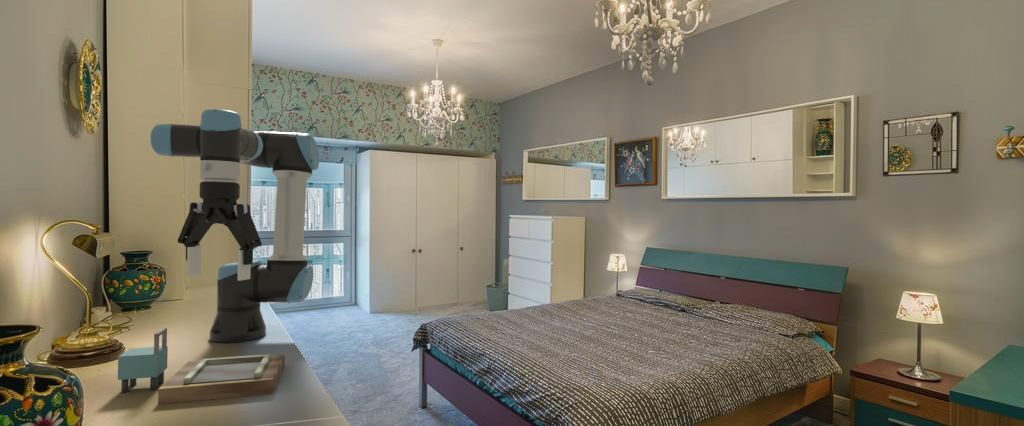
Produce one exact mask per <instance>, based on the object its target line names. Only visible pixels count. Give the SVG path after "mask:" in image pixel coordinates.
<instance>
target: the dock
mask: <svg viewBox="0 0 1024 426" xmlns="http://www.w3.org/2000/svg"><path fill="white" fill-rule="evenodd" d="M285 357H286V356H285V354H280V355H271V354H270V353H269V354H257V355H242V356H241V355H240V356H225V357H209V358H207V357H206V358H203V359H201V360H191V361H187V362H186V363H185V364H184V365H183V366H182V367H181V368H180V369H179V370H177V371H176V373H174V374H173V375H172V376H171V377H170V378H169V379H168V380H166V382H165V383H163V384H162V385H161V386H159V388H157V391H158V393H157V394H158V395H157V404H158V405H161V404H162V405H165V404H175V403H185V402H195V401H197V402H198V401H206V400H207V401H209V400H218V399H231V398H232V399H233V398H241V397H242V398H243V397H252V396H253V397H254V396H263V395H273V394H274V391H275V389H276V388H277V384H278V382H279V380H280V378H281V376H282V374H283V371H284V369H285V364H286V363H285Z"/></svg>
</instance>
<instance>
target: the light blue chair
mask: <svg viewBox="0 0 1024 426" xmlns="http://www.w3.org/2000/svg"><path fill="white" fill-rule="evenodd" d="M153 335H154V336H153V338H154V339H153V346H152V347H149V346H148V347H134V348H133V347H132V348H129V349H128V350H126V351H125V352H123V353H121V354H120V355H118V356H117V380H118V381H121V390H120V391H121V393H122V394H123V393H124V394H125V393H128V392H129V388H130V387H135V386H137V380H138V379H148V378H149V379H150V382H149V383H150V385H149V390H150V391H156V390H158V385H161V384H162V385H163V384H165V383H164V382H165V371H166V370H167V369H168V353H169V351H168V348H169V347H168V346H167V345H168V343H167V342H168V341H167V340H168V328H167V327H164V328H161V329H159V330H158V331H157V332H155V333H154V334H153ZM161 336H162V337H161ZM160 337H161V346H160Z"/></svg>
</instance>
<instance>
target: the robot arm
mask: <svg viewBox="0 0 1024 426" xmlns="http://www.w3.org/2000/svg"><path fill="white" fill-rule="evenodd" d="M242 125H243V124H242V118H241V115H240V113H238V112H236V111H232V110H227V109H214V108H213V109H212V108H210V109H205V110H203V111H202V112H201V117H200V124H199V125H193V124H175V123H174V124H173V123H158V124H156V125H154V127H153V128H152V129H151V132H150V145H151V148H152V149H153V151H154V152H155V153H156V154H158V156H165V157H168V156H169V157H170V158H171V157H172V158H173V157H180V158H181V157H185V158H186V157H187V158H199V159H200V163H199V179H201V180H203V181H200V182H199V198H200V199H201V200H202V202H190V205H189V210H188V211H189V212H188V214H187V216H186V218H185V221H184V223H183V226H182V228H181V231H180V232H179V233H180V234H179V236H178V238H177V243H178V244H182V245H184V247H185V260H186V264H187V265H186V270H187V271H186V277H189V278H190V277H195V276H196V277H197V276H201V274H202V273H201V269H202V268H201V267H202V246H201V244H200V242H201V241H202V239H203V238H204V237H205V235H206V234H207V233H208V231H209V230H210V229H211V228H212V226H213V225H215V224H218V225H224V226H226V227H227V228H228V230H229V231H230V233H231V235H232V236H233V238H234V239H235V241H236V242H237V244H238V245H239V247H240V248H239V249H238V250H237V261H236V262H231V263H226V264H223V265H221V266H220V267H219V268H218V270H217V279H216V281H217V286H216V287H217V289H216V290H217V293H216V300H217V301H216V314H215V318H214V319H213V322H212V325H211V328H210V330H209V340H210V341H211V342H215V343H224V344H225V343H226V344H227V343H240V342H247V341H252V340H255V339H260V338H262V337H265V335H266V334H267V325H266V322H265V319H264V316H263V314H262V312H261V303H287V304H291V303H301V302H304V300H306V298H308V296H309V294H310V292H311V289H312V285H313V282H314V267H313V266H312V265H310V264H309V263H308V262H309V260H308V259H309V258H307V257H306V256H305V255H304V242H305V241H304V240H305V239H304V238H305V222H306V221H305V219H306V203H307V202H306V197H307V182H308V180H309V179H310V178H312V176H313V171H315V170H318V169H319V164H320V154H319V150H318V149H319V148H318V145H317V142H316V139H315V137H313V135H311V134H309V133H302V132H297V131H295V132H289V131H288V132H287V131H285V132H284V131H267V130H261V131H259V130H258V131H254V130H252V129H249V128H247V127H246V128H245V127H242ZM241 165H247V166H252V167H258V168H265V169H272V171H271V172H272V174H273V175H274V176H275V177H276V193H275V194H276V195H275V196H276V198H275V211H274V213H275V215H274V217H275V218H274V228H273V229H274V233H273V248H272V249H273V250H272V255H271V256H269V257H268V258H267V260H266V264H263V262H262V260H260V259H254V258H253V257H254V250H255V249H256V248H259V247H262V245H263V243H262V240H261V238H260V236H259V233H258V229H257V227H256V225H255V223H254V219H253V217H252V215H251V207H250V203H249V204H248V203H237V200H239V199H240V198H241V197H240V194H241V193H240V191H241V187H240V186H241V185H240V183H238V181H240V180H241Z"/></svg>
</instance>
